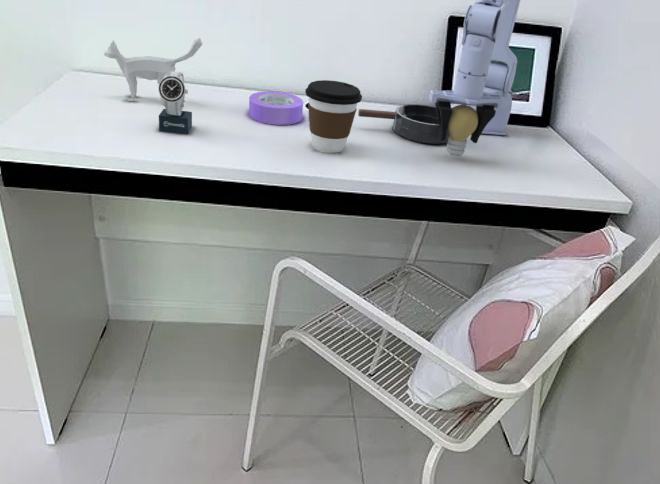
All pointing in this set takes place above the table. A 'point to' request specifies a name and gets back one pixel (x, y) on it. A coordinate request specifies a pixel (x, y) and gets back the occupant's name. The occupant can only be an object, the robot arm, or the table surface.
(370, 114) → the pan handle
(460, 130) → the light bulb
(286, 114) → the tape roll
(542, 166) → the table surface
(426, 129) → the pan
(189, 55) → the cat figurine
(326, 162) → the table surface
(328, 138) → the coffee cup
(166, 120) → the watch
